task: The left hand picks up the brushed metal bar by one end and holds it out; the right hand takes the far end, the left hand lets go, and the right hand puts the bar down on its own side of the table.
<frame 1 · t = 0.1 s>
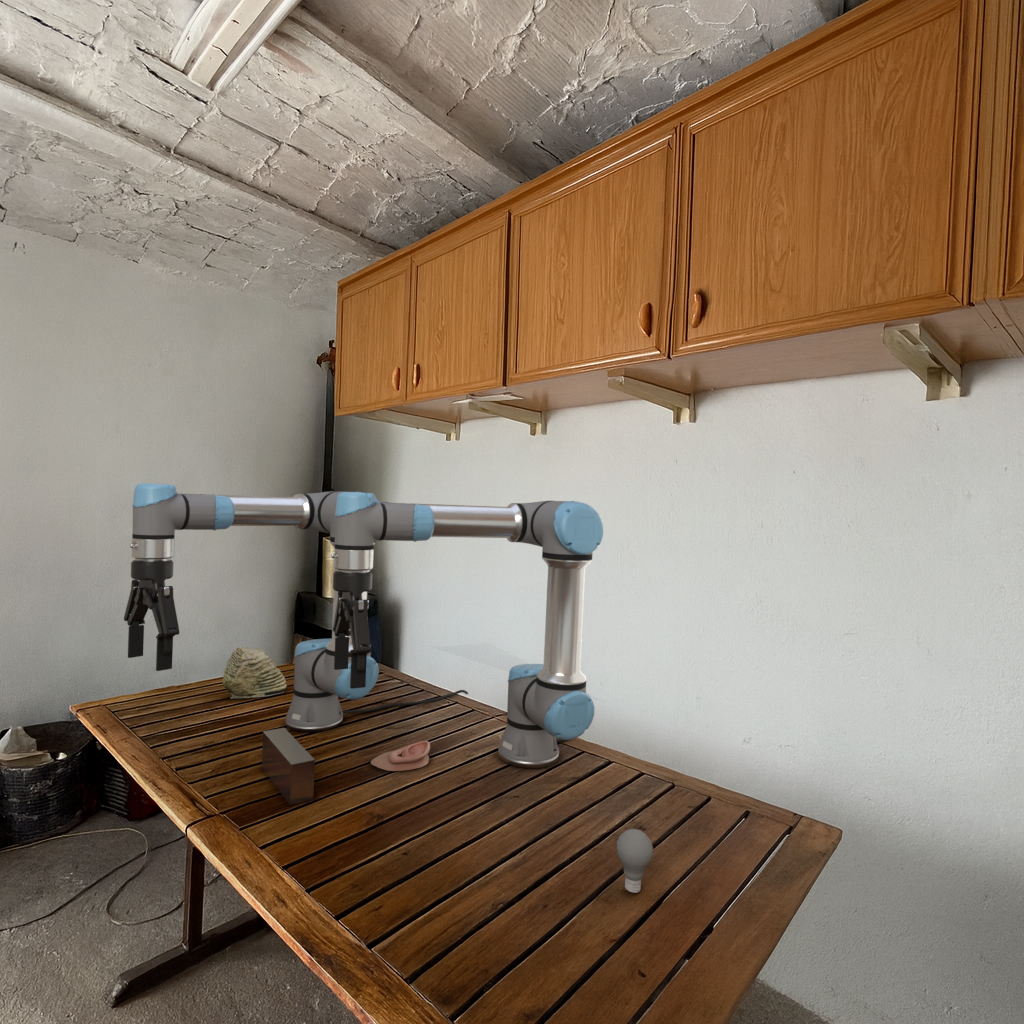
left hand: (149, 663, 129), 28 cm above the table, tool pointing down, fingers open, 13 cm apart
right hand: (349, 677, 125), 28 cm above the table, tool pointing down, fingers open, 13 cm apart
light bulb: (632, 891, 106), on the table
bar: (286, 782, 140), on the table
anatomical model: (400, 762, 153), on the table
fossil: (254, 694, 198), on the table
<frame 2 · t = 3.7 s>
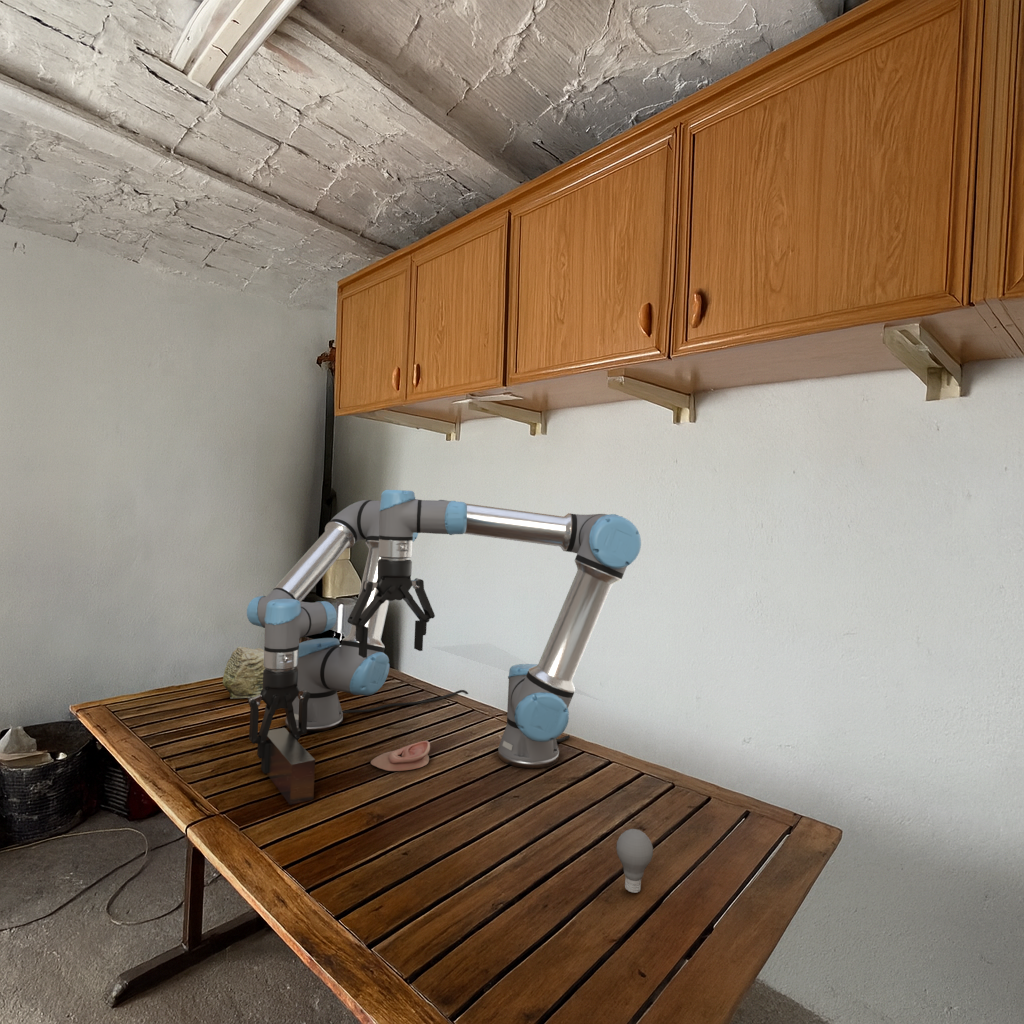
left hand: (277, 768, 145), 1 cm above the table, tool pointing down, fingers closed on bar, 5 cm apart
right hand: (391, 652, 142), 29 cm above the table, tool pointing down, fingers open, 13 cm apart
bar: (286, 782, 140), on the table, touching left hand
everything else where it was.
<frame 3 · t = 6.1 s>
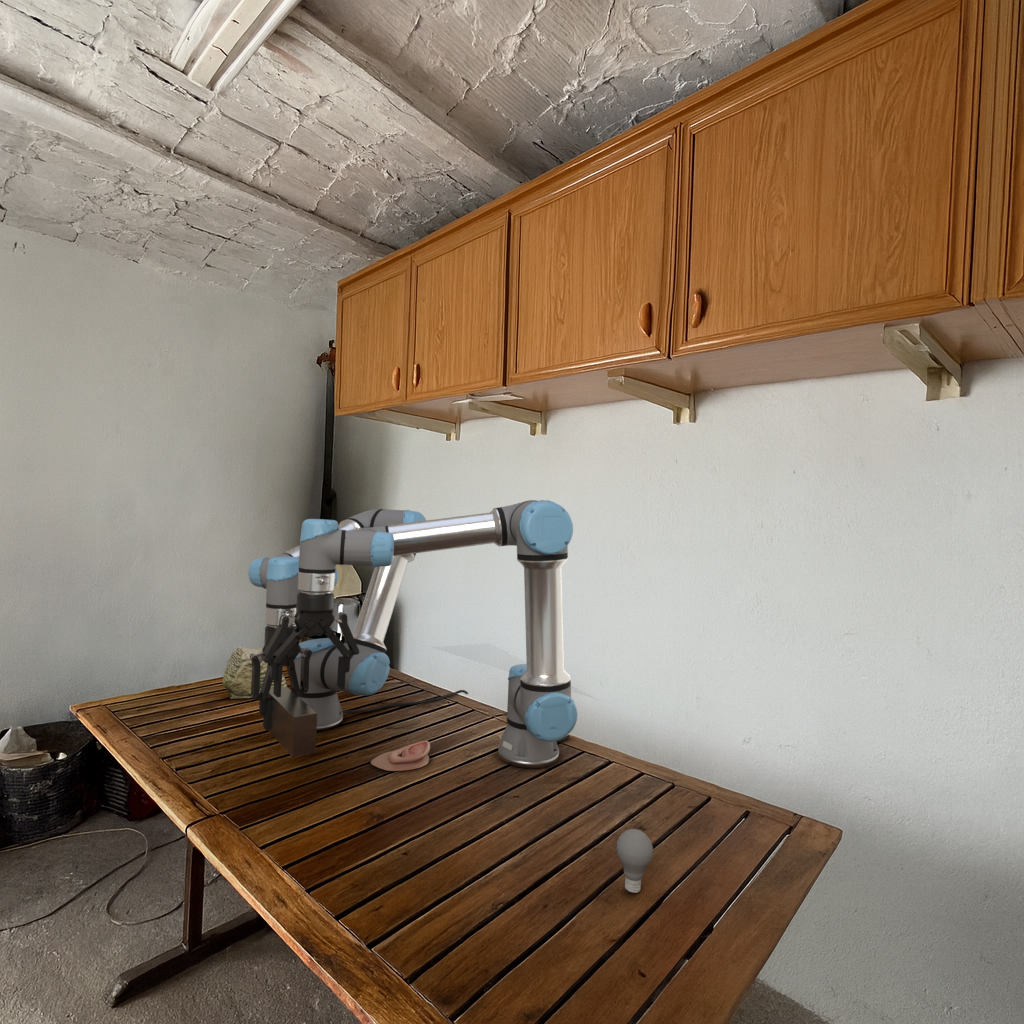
left hand: (279, 725, 145), 10 cm above the table, tool pointing down, fingers closed on bar, 5 cm apart
right hand: (309, 691, 135), 22 cm above the table, tool pointing down, fingers open, 13 cm apart
bar: (288, 738, 140), point 10 cm above the table, touching left hand
everything else where it was.
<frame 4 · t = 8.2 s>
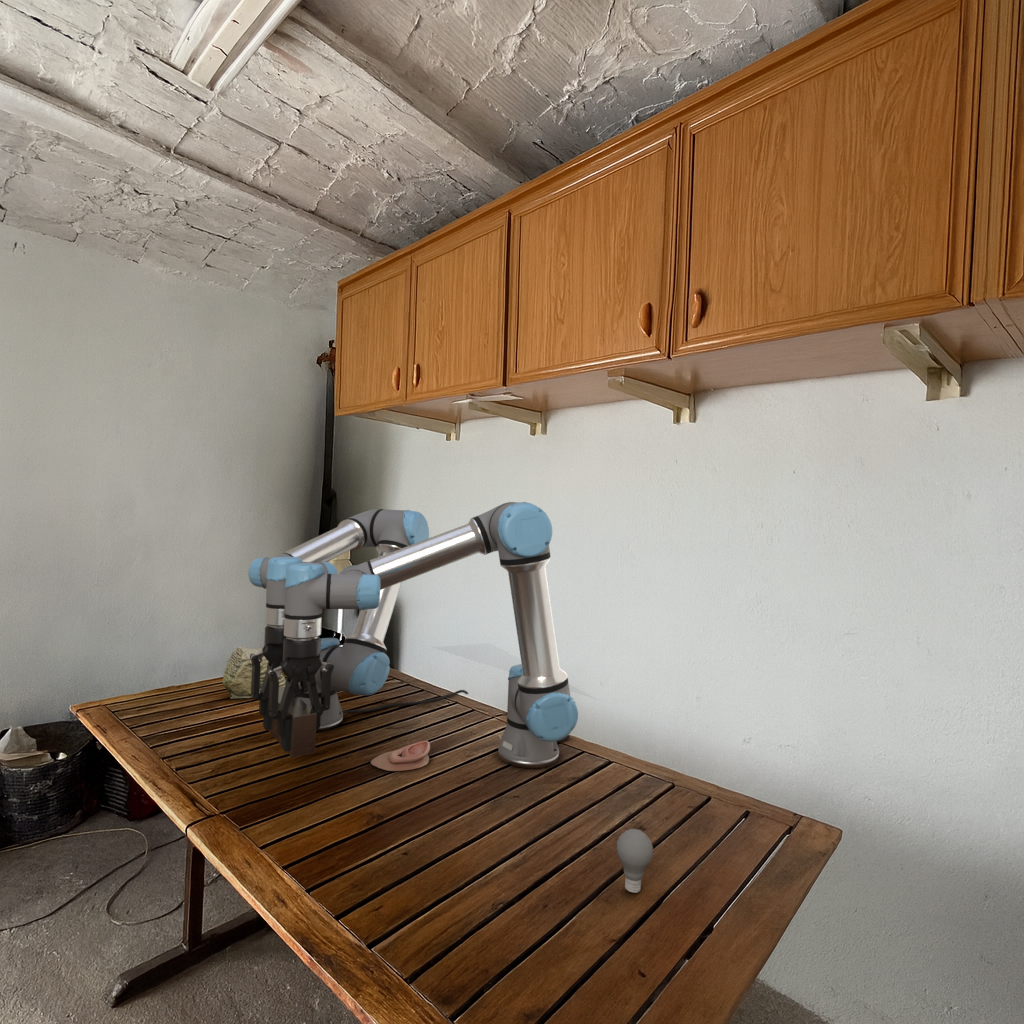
left hand: (278, 725, 145), 10 cm above the table, tool pointing down, fingers closed on bar, 5 cm apart
right hand: (298, 746, 134), 10 cm above the table, tool pointing down, fingers closed on bar, 5 cm apart
bar: (288, 738, 139), point 10 cm above the table, touching left hand, right hand
everything else where it was.
when the left hand's fingers open (10 cm above the table, at t = 8.7 s): bar stays where it is, held by the right hand.
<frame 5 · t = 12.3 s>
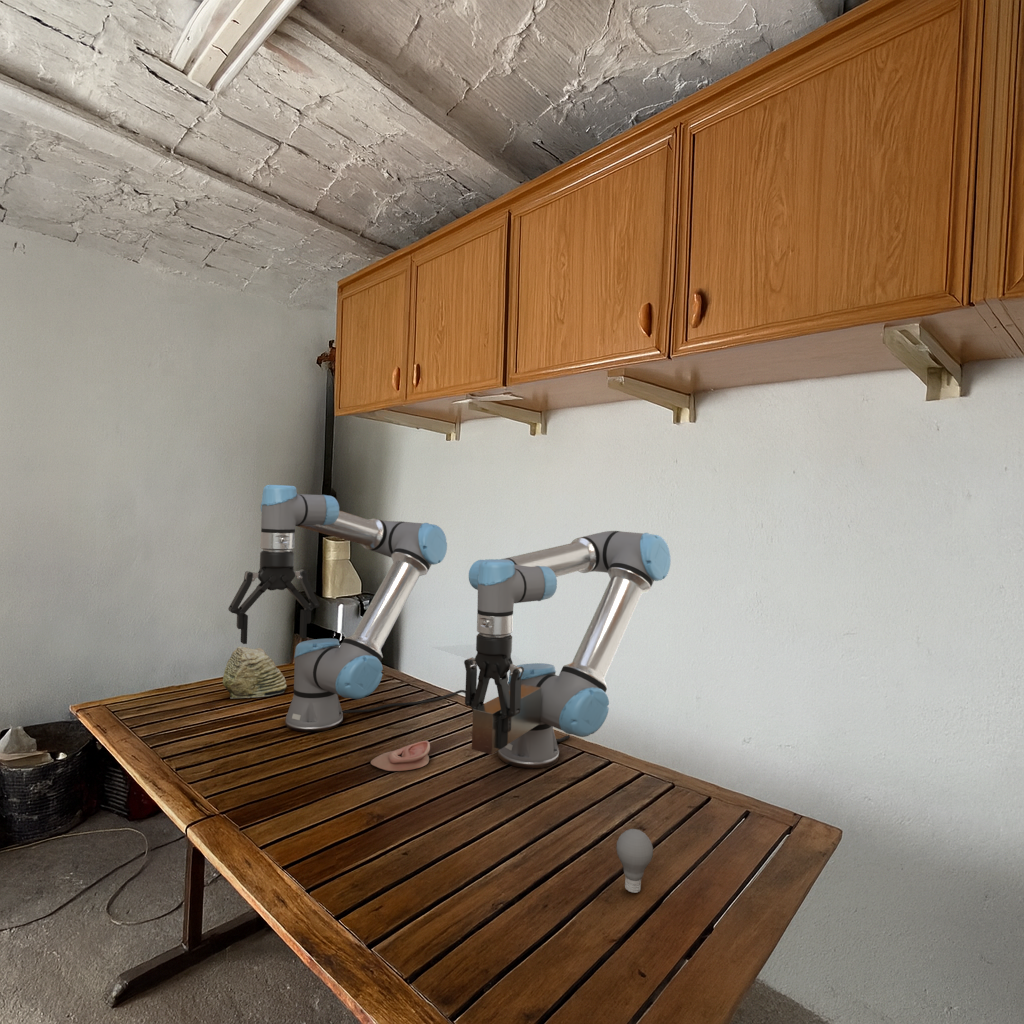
left hand: (274, 640, 150), 29 cm above the table, tool pointing down, fingers open, 13 cm apart
right hand: (491, 743, 133), 13 cm above the table, tool pointing down, fingers closed on bar, 5 cm apart
bar: (508, 735, 139), point 13 cm above the table, touching right hand
everything else where it was.
when the right hand's fingers open (2 cm above the table, at t = 16.6 s): bar stays where it is, on the table.
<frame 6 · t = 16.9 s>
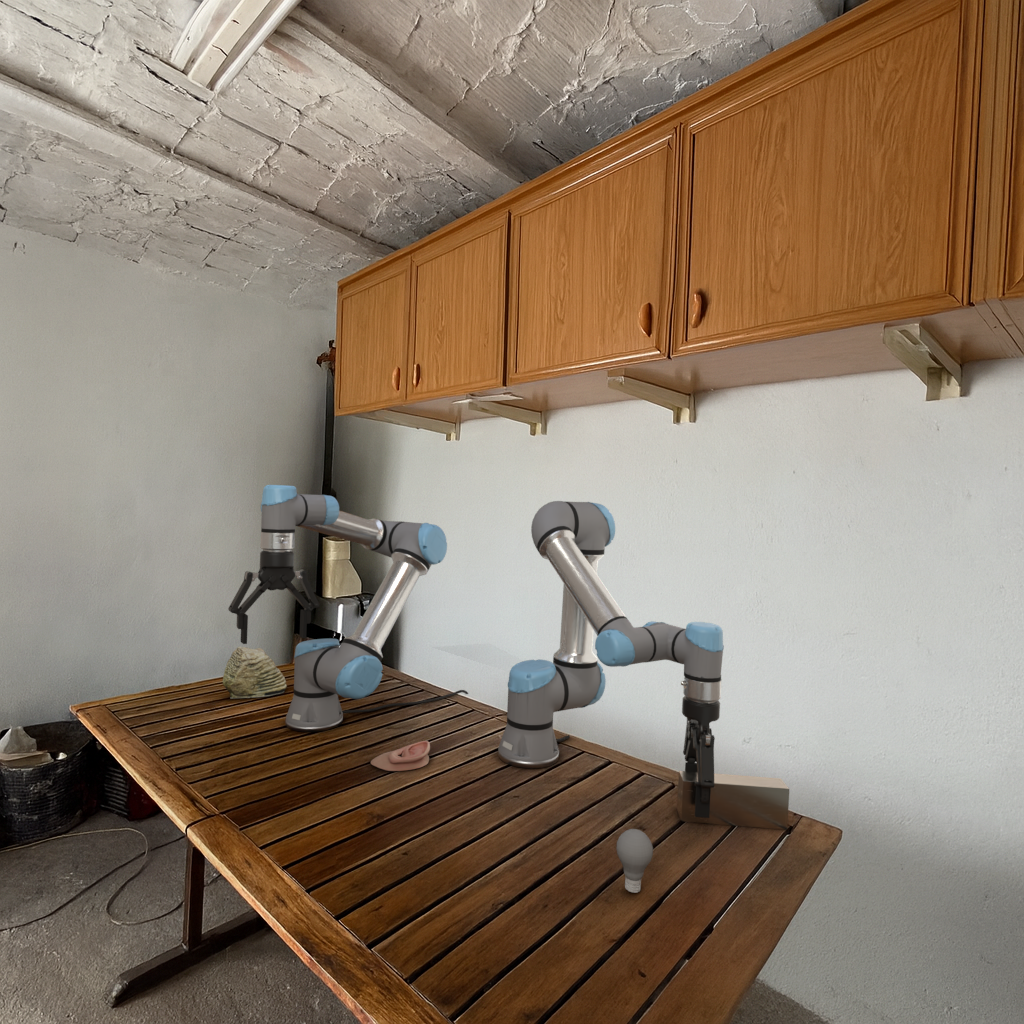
left hand: (274, 640, 150), 29 cm above the table, tool pointing down, fingers open, 13 cm apart
right hand: (696, 804, 132), 3 cm above the table, tool pointing down, fingers open, 9 cm apart
bar: (730, 819, 132), on the table
everything else where it was.
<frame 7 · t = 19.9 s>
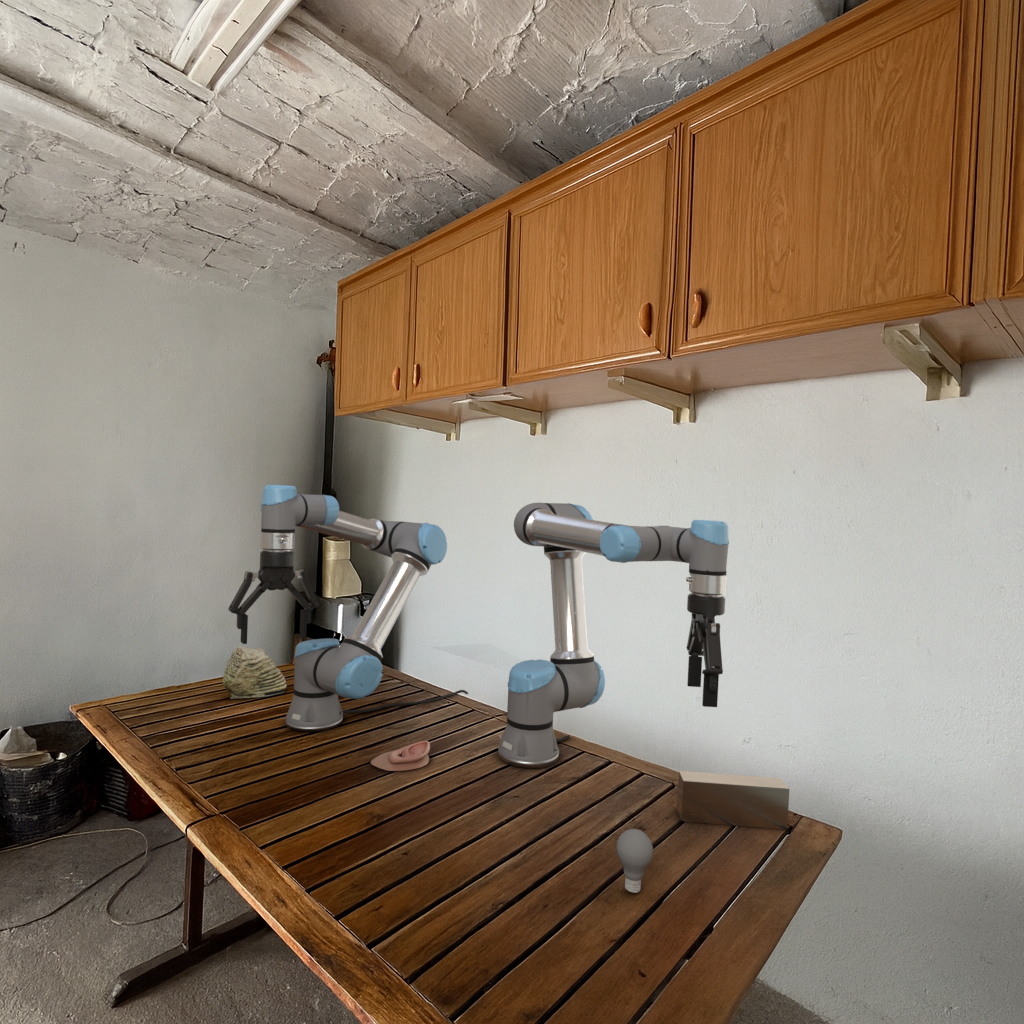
left hand: (274, 640, 150), 29 cm above the table, tool pointing down, fingers open, 13 cm apart
right hand: (701, 696, 132), 25 cm above the table, tool pointing down, fingers open, 13 cm apart
nothing on the table moved.
at the end: bar inside the target area (7.2 cm from its centre), on the table; the left hand is holding nothing; the right hand is holding nothing; bar at rest at the end (0.0 cm/s) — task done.
